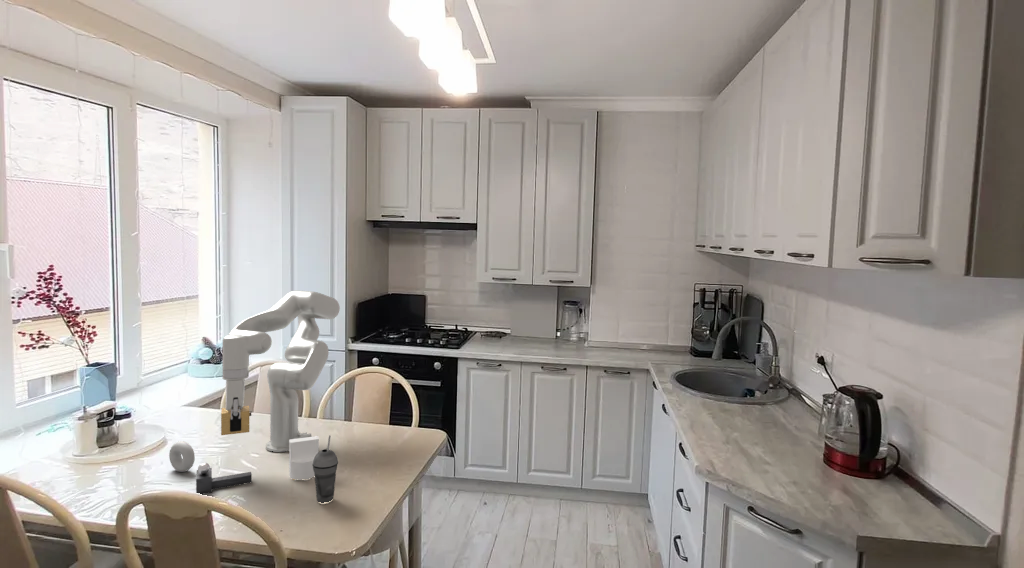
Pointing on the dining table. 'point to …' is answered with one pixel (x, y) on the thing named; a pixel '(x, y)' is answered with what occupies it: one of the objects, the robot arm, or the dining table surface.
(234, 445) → the dining table surface
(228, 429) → the block
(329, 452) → the beverage cup
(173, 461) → the donut
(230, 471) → the dining table surface
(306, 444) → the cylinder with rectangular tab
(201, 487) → the rail
